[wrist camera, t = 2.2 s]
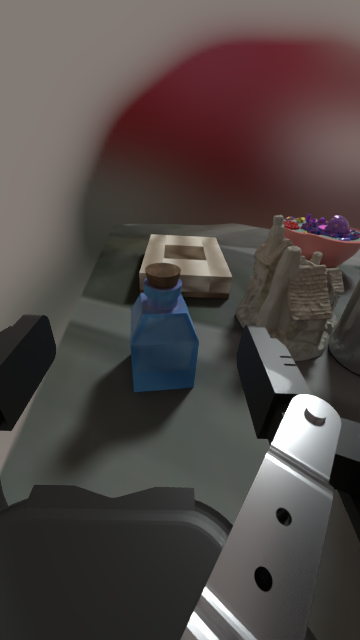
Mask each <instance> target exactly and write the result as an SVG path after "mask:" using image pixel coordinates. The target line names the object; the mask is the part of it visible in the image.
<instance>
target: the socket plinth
mask: <svg viewBox="0 0 360 640" xmlns="http://www.w3.org/2000/svg"><path fill="white" fill-rule="evenodd" d="M154 263H170V264H174V265H176V266H178V267H180V269H181V273H180V277H179V279H180V280H181V281H182V289H181V295H182V297H201V298H224V299H228V298H229V292H230V287H231V281H232V275H231V273H230V271H229V268H228V266H227V264H226V261H225V259H224V257H223V254H222V252H221V250H220V247H219V245H218V242H217V240H216V238H211V237H192V236H172V235H152V234H151V237H150V240H149V243H148V247H147V250H146V253H145V256H144V260H143V263H142V266H141V269H140V272H139V277H140V293H144V280H145V279H146V278H147V276H146V273H145V267H147V266H148V265H150V264H154Z"/></svg>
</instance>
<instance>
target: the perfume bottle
mask: <svg viewBox="0 0 360 640" xmlns="http://www.w3.org/2000/svg"><path fill="white" fill-rule="evenodd" d="M145 273H146V276H147V278H146V279H145V280H144V293H140V295H139V297H138V298H137V300H136V302H135V303H134V305H133V306H132V308H131V359H132V372H133V385H134V392H144V391H156V390H167V389H179V388H191V387H194V379H195V371H196V362H197V354H198V346H199V340H198V337H197V334H196V331H195V328H194V325H193V322H192V320H191V317H190V314H189V311H188V308H187V305H186V303H185V301H184V299H183V297H182V295H181V289H182V281H181V280H180V279H179V277H180V273H181V269H180V267H178V266H176V265H174V264H170V263H154V264H150V265H148V266H147V267H145Z"/></svg>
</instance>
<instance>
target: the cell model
mask: <svg viewBox="0 0 360 640" xmlns="http://www.w3.org/2000/svg"><path fill="white" fill-rule="evenodd" d="M310 217H311V215H310V214H308V215H307V217H306V219H304V218H302V219H301V218H293V217H292V216H291V217H287V218H286V219H284V220H283V224H282V226H283V227H285V231H284V238H286V239H290V240H291V242H292V243H293V245H294V246H297V247H299V248H300V249H301V251H302V253H301V256H305V257H306V259H307V260H308V261H310V259H311V258H312V256H313V253H314V252H321V253H322V255H323V256H322V259H321V261H320V265H326V268H333V267H337V266H339V265H341V264H342V263H343V262H345V261H346V260H348V259H349V258H351V257H352V256H353V255H354V254H355V253H356V252H357V251H358V250H359V249H360V230H358V229H354V228H351V227H349V223H348V221H347V220H346V219H345V218H343V217H342V216H340V215H338V216H335V217H334V218H333V219H331V220H330V221H329V222H327V221H326V219H324V218H321V219H320V220H317V219H315V218H312V219H311V220H310Z"/></svg>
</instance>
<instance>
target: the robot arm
mask: <svg viewBox="0 0 360 640" xmlns="http://www.w3.org/2000/svg"><path fill="white" fill-rule="evenodd" d="M329 350H330V352H331V353H332V355H333V356H334V357H335V358H336V360H337V361H339V362H340V363H341V364H342V365H343V366H345V367H346V368H348V369H349V370H351V371H352V372H354V373H356V374H358V375H360V280H359V282H358V284H357V286H356V288H355V290H354V292H353V294H352V296H351V298H350V300H349V302H348V304H347V306H346V308H345V310H344V312H343V314H342V316H341V318H340V320H339V322H338V324H337V327H336V329H335V331H334V333H333V335H332V337H331V339H330V341H329ZM55 355H56V344H55V341H54V337H53V334H52V330H51V326H50V322H49V319H48V317H47V316H45V315H23V316H22V317H21V318H20V319H19V320H18V321H17V322H16V323H15V324H14V325H13V326H10V327H8V328H6V329H4V330H3V331H1V332H0V431H1V430H2V431H12V429H13V428H14V426H15V424H16V422H17V421H18V419H19V418H20V416H21V414H22V413H23V411H24V409H25V408H26V406H27V404H28V402H29V401H30V399H31V398H32V396H33V394H34V393H35V391H36V389H37V388H38V386H39V384H40V383H41V381H42V379H43V377H44V376H45V374H46V372H47V371H48V369H49V367H50V366H51V364H52V362H53V361H54V359H55ZM237 368H238V372H239V376H240V379H241V383H242V386H243V390H244V393H245V397H246V401H247V404H248V408H249V411H250V415H251V418H252V422H253V425H254V429H255V433H256V436H257V439H268V441H269V444H270V448H269V450H268V452H267V454H266V457H265V459H264V461H263V463H262V465H261V467H260V470H259V472H258V474H257V476H256V478H255V480H254V482H253V485H252V487H251V489H250V491H249V493H248V495H247V498H246V500H245V502H244V504H243V506H242V508H241V510H240V513H239V515H238V517H237V519H236V521H235V523H234V526H233V525H232V524H231V523H230V522H229V521H228V520H227V519H226V518H225V517H224V516H223V515H221V514H220V513H219V512H218V511H216V510H215V509H213V508H212V507H210V506H208V505H206V504H204V503H202V502H199V501H196V500H194V488H174V487H154V488H150V489H147V490H143V491H139V492H136V493H132V494H128V495H125V496H121V497H117V498H109V497H106V496H103V495H100V494H97V493H94V492H91V491H89V490H86V489H83V488H80V487H77V486H69V485H34V486H33V489H32V491H31V493H30V495H29V498H28V499H25V500H22V501H20V502H17V503H14V504H12V505H10V506H8V504H7V502H6V499H5V497H4V494H3V490H2V485H1V480H0V640H317V639H316V638H315V636H314V635H313V633H312V632H311V631H310V629H309V628H308V627H307V626H308V621H309V616H310V611H311V606H312V601H313V596H314V591H315V586H316V581H317V576H318V571H319V566H320V561H321V556H322V551H323V546H324V541H325V536H326V531H327V526H328V521H329V516H330V511H331V506H332V501H333V494H334V489H336V490H338V492H339V494H340V497H341V499H342V501H343V504H344V506H345V508H346V511H347V513H348V515H349V518H350V520H351V522H352V525H353V527H354V530H355V532H356V534H357V537H358V539H359V541H360V423H357V422H354V421H351V420H347V419H344V418H341V417H339V415H338V413H337V412H336V410H335V409H334V408H333V407H332V406H331V405H329V404H328V403H327V402H325V401H324V400H322V399H320V398H318V397H315V396H313V394H312V392H311V390H310V389H309V387H308V385H307V383H306V381H305V380H304V378H303V376H302V374H301V373H300V371H299V369H298V367H297V366H296V364H295V362H294V360H293V358H291V355H290V353H289V351H288V349H287V348H286V346H285V345H283V344H282V343H281V342H280V341H279V340H278V339H276V338H270V336H269V334H268V332H267V330H266V328H265V327H264V326H256V325H245V326H244V328H243V332H242V336H241V340H240V344H239V348H238V352H237Z"/></svg>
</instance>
